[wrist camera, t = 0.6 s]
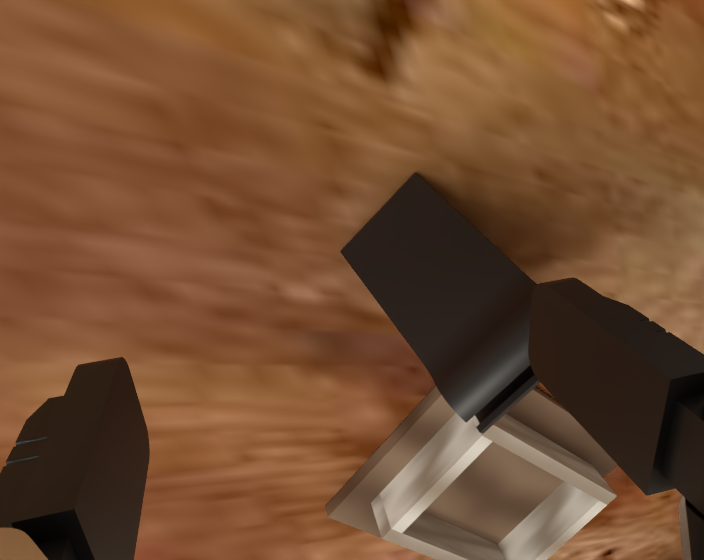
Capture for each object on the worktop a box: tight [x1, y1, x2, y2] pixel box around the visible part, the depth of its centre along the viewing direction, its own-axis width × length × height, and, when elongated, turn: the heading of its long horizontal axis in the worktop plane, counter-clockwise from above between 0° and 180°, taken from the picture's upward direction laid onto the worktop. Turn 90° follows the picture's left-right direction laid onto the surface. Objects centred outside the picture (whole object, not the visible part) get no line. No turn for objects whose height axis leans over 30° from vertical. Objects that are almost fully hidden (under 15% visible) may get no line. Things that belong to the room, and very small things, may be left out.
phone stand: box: [340, 173, 540, 433], centre depth 27 cm, size 9×6×12 cm, turn 45°
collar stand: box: [326, 386, 617, 560], centre depth 40 cm, size 16×18×4 cm
